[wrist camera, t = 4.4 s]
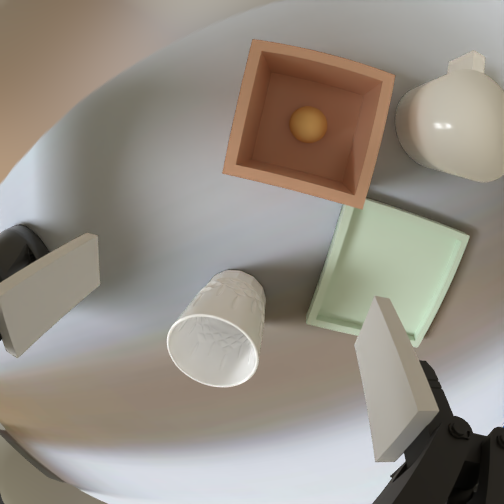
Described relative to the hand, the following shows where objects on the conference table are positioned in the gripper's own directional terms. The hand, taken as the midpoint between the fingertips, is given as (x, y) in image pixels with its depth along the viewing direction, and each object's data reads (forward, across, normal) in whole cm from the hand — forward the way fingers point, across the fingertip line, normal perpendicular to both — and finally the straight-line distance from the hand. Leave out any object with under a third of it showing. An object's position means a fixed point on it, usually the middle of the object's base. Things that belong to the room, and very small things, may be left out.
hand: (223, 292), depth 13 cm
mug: (+17, -15, -13) cm, 26 cm away
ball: (+14, -2, -8) cm, 17 cm away
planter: (+17, -3, -8) cm, 19 cm away
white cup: (+17, +1, +10) cm, 20 cm away
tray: (+17, -14, +4) cm, 22 cm away
